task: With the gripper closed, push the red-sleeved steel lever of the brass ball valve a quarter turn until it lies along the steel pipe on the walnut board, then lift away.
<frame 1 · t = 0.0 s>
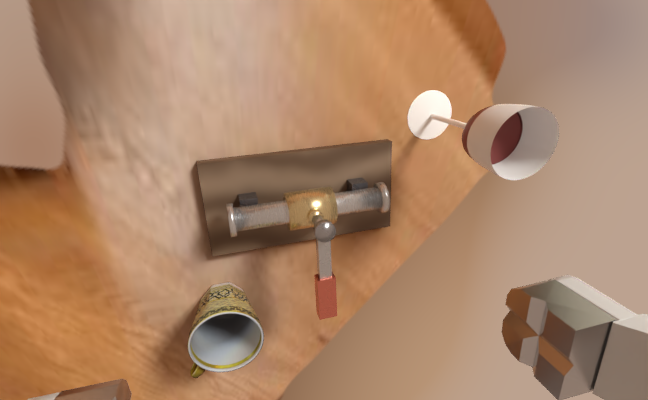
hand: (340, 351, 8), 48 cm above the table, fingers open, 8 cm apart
ceramic cup: (217, 306, 62), on the table
pipe valve: (309, 207, 54), on the walnut board, point 5 cm above the table
valve lever: (323, 266, 51), point 11 cm above the table, hinge at 0.0°
walnut board: (301, 194, 59), on the table
wineglass: (429, 115, 60), on the table
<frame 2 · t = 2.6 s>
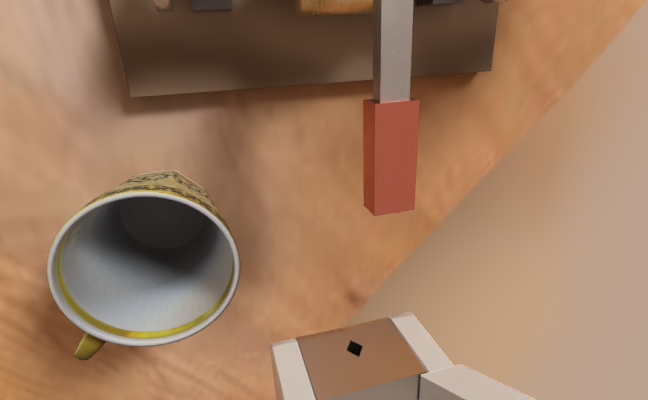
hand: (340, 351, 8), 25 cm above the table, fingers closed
ceramic cup: (154, 222, 31), on the table
valve lever: (386, 75, 20), point 11 cm above the table, hinge at 0.0°
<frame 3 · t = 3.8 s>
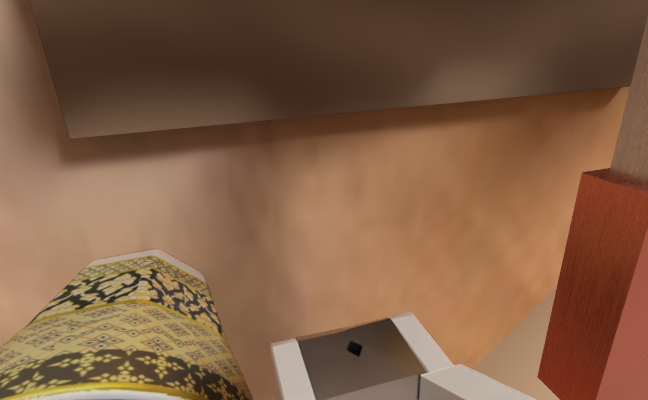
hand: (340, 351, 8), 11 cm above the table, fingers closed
ceramic cup: (124, 329, 19), on the table
valve lever: (646, 116, 8), point 11 cm above the table, hinge at 0.0°
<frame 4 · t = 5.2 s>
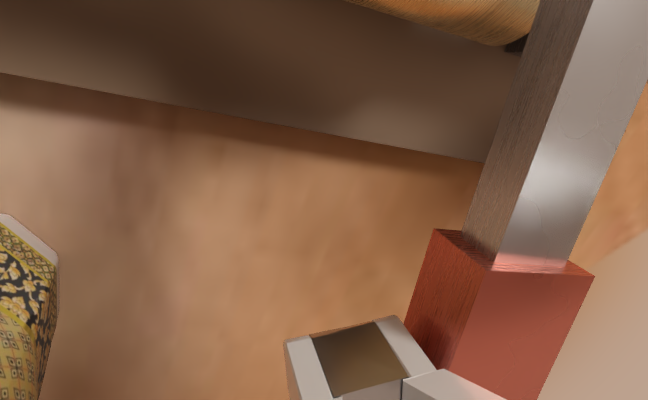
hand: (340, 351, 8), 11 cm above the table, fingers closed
valve lever: (509, 183, 8), point 11 cm above the table, hinge at 1.2°, touching gripper
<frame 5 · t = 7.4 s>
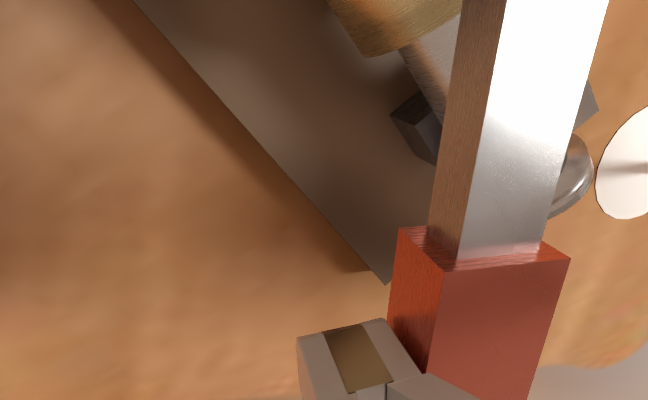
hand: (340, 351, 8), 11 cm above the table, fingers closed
valve lever: (471, 170, 7), point 11 cm above the table, hinge at 49.8°, touching gripper
wineglass: (643, 162, 24), on the table
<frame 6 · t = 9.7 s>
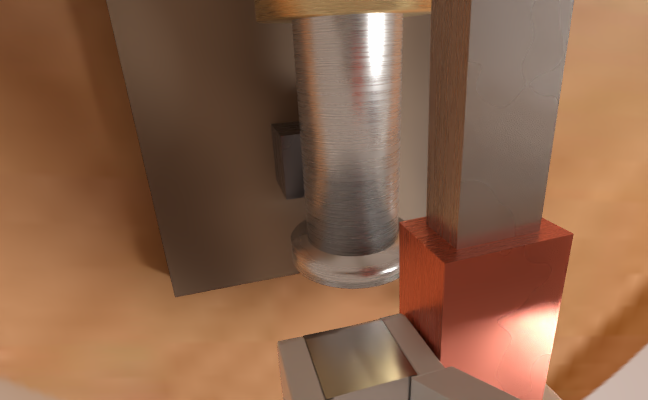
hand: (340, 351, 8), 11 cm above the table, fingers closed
valve lever: (464, 156, 7), point 11 cm above the table, hinge at 91.7°, touching gripper
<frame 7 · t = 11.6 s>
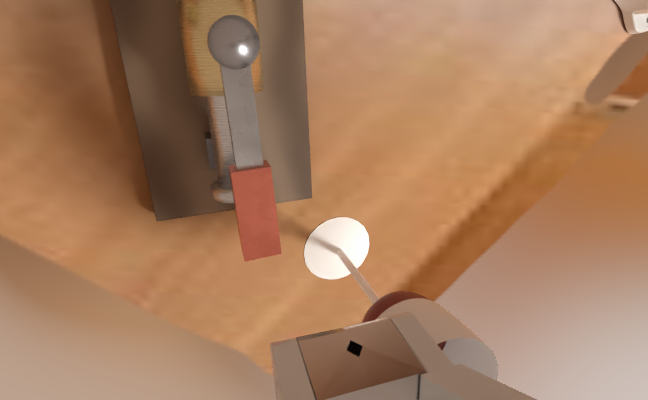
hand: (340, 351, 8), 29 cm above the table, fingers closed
pipe valve: (221, 43, 27), on the walnut board, point 5 cm above the table
valve lever: (245, 145, 24), point 11 cm above the table, hinge at 91.7°
walnut board: (216, 44, 32), on the table
wineglass: (336, 248, 43), on the table
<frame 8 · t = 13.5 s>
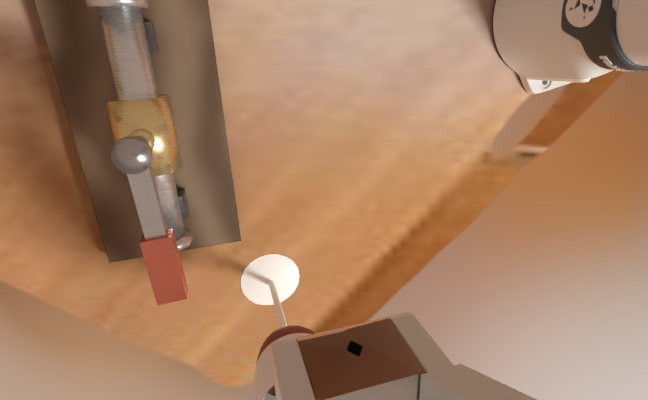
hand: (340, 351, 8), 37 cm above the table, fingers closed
pipe valve: (146, 134, 35), on the walnut board, point 5 cm above the table
valve lever: (154, 219, 32), point 11 cm above the table, hinge at 91.7°
walnut board: (153, 123, 40), on the table
wineglass: (270, 279, 50), on the table
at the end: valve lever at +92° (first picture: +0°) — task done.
